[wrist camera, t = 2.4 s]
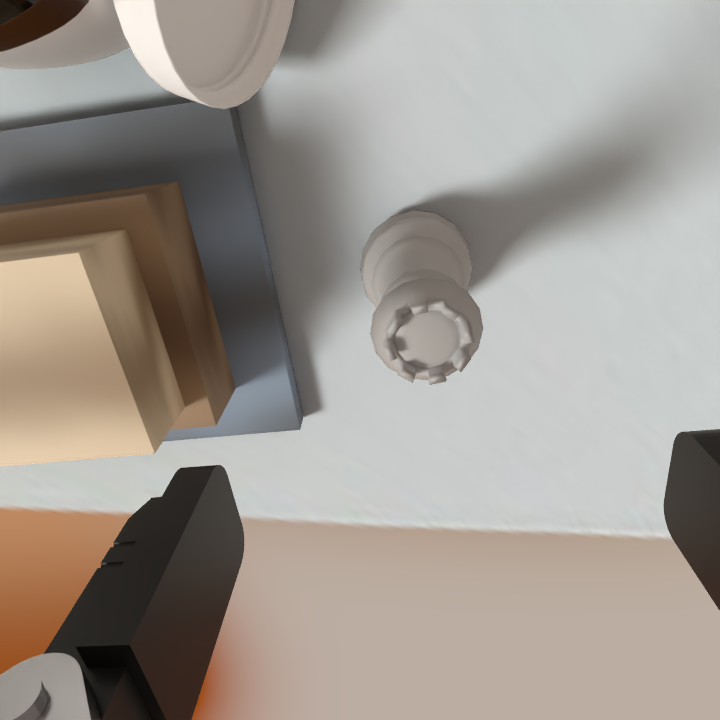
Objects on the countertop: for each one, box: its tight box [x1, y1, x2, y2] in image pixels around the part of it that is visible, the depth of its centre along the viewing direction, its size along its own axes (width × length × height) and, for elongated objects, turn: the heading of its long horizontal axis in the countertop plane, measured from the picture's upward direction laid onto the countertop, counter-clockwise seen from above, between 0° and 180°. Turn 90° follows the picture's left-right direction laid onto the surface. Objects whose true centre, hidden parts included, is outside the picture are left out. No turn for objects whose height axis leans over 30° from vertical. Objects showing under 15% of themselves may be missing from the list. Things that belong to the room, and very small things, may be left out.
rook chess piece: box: [360, 210, 483, 385], centre depth 18 cm, size 4×4×8 cm
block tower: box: [0, 102, 303, 466], centre depth 20 cm, size 14×14×7 cm
